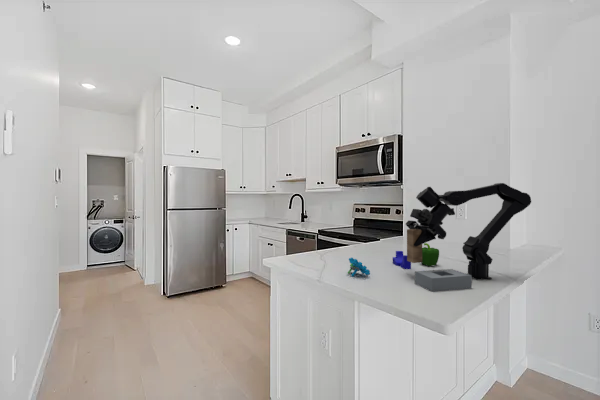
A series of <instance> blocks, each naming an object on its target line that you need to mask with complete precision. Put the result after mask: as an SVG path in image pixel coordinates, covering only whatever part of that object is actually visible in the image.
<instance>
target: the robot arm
mask: <svg viewBox="0 0 600 400" xmlns="http://www.w3.org/2000/svg"><path fill="white" fill-rule="evenodd" d="M493 195H497V196H498V197H499V198H500V199H501V200H503V201H502V204H501V209H500V210H499V211H498V212H497V213H496V214H495V216H494V217H492V219H491V220H490V221H489V223H487V225H485V227H484V228H483V230H481V232H480V233H479V234H478V235H477V236H471V235H470V236H469V237H468V238H467V239H466V241H464V242H463V246H462V248H461V249H462V253H463V254H464V255H465V256H466V259H467V260H469V261H468V265H467V274H469V275H472V279H475V280H492V277H491V276H489V271H490V270H489V267H490V265H491V264H492V261H493V258H492V257H491V256H490V255H489V254H488V251H489V249H490V244H491V242H492V241H493V240H494V239H495V237H496V236H498V234H499V233H500V232H501V231H502V229H504V227H505V226H506V225H507V224H508V222H510V221H511V219H512V218H513V217H514V216H515V215H517V214H518V213H520V212H522V211H524V210H526V208H527V207H529V206H530V205H531V204H532V198H531V195H530V194H528V193H527V192H522V191H520V190H519V189H516V188H514V187H511V186H510V185H508V184H507V183H504V182H498V183H493V184H490V185H487V186H481V187H476V188H473V189H472V188H471V189H468V190H449V191H445V192H444V193H443V194H438V193H437V192H436V191H435V190H434V189H433V188H432V187H431V186H426V188H424V189H423V190H422V191H420V192H419V193H418V194H417V195H416V199H417V201H419V202H420V203H421V205H423V206H424V207H425V208H423V209H418V208H413V209H412V210H411V213H410V216H409V217H410V218H413V219H415V220H407V222H406V223H405V226H406V227H407V229H419V230H422V232H421V234H420V236H419V237H418V239H417V240H416V242H415V243H414V246H419V245H421V244H422V245H424V243H427V242H430V241H434V240H436V239H437V238H438V240H444V239H445V238H446V237H447V232H446V230H445V229H444V228H443V226H442V225H443V224H444V222H443V220H444V219H445V218H446V217H447V216H455V215H456V212H455V209H454V208H452V207H450V206H453V207H455V206H460V205H463V204H465V203H467V202H468V201H471V200H475V199H479V198H484V197H488V196H489V197H490V196H493ZM428 208H430V210H429V209H428ZM416 220H417V221H416ZM436 237H437V238H436Z"/></svg>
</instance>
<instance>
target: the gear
mask: <svg viewBox="0 0 600 400" xmlns="http://www.w3.org/2000/svg"><path fill="white" fill-rule="evenodd" d="M348 261H349V263H350V264H349V268H350V269H349V270H348V271H347V274H350V273H351V272H352V271H353V272H352V273H351V274H350V276H351V277H355V275H356V274H357V272H359V271H360V272H361V274H363V275H366V276H369V275H371V271H370V269H368V267H367V266H366V265H363V263H362V262H361V261H358V259H357V258H354V257H349V258H348Z"/></svg>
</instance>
